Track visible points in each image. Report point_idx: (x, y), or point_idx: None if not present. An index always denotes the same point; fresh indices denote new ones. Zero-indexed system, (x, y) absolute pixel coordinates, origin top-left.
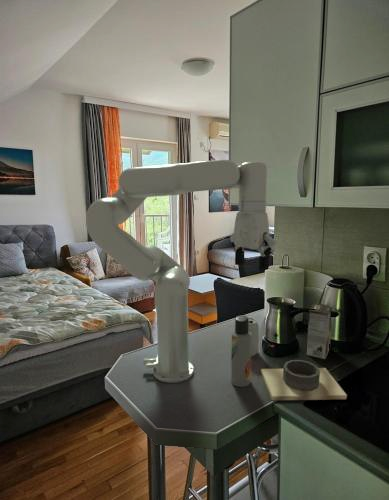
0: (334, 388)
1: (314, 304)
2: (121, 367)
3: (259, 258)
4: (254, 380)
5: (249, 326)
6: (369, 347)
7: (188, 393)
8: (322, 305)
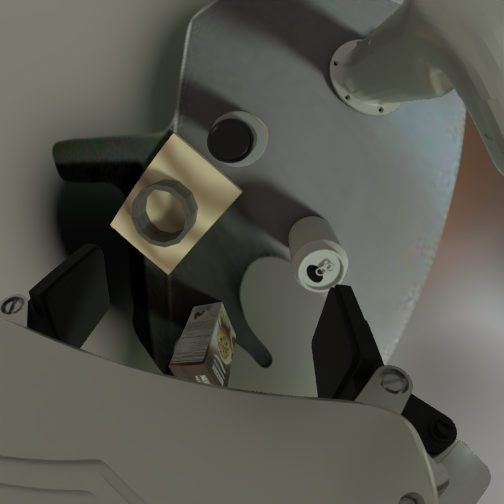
0: (127, 228)
1: None
2: None
3: (52, 289)
4: None
5: (304, 253)
6: None
7: (293, 44)
8: None
